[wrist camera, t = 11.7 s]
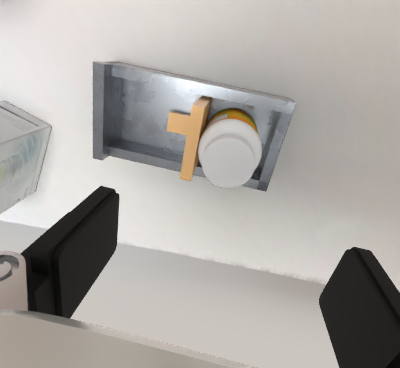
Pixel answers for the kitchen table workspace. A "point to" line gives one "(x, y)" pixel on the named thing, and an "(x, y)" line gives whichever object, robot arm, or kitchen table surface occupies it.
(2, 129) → the skincare box
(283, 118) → the grey rectangular tray
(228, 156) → the supplement bottle
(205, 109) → the block
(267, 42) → the kitchen table surface
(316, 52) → the kitchen table surface
